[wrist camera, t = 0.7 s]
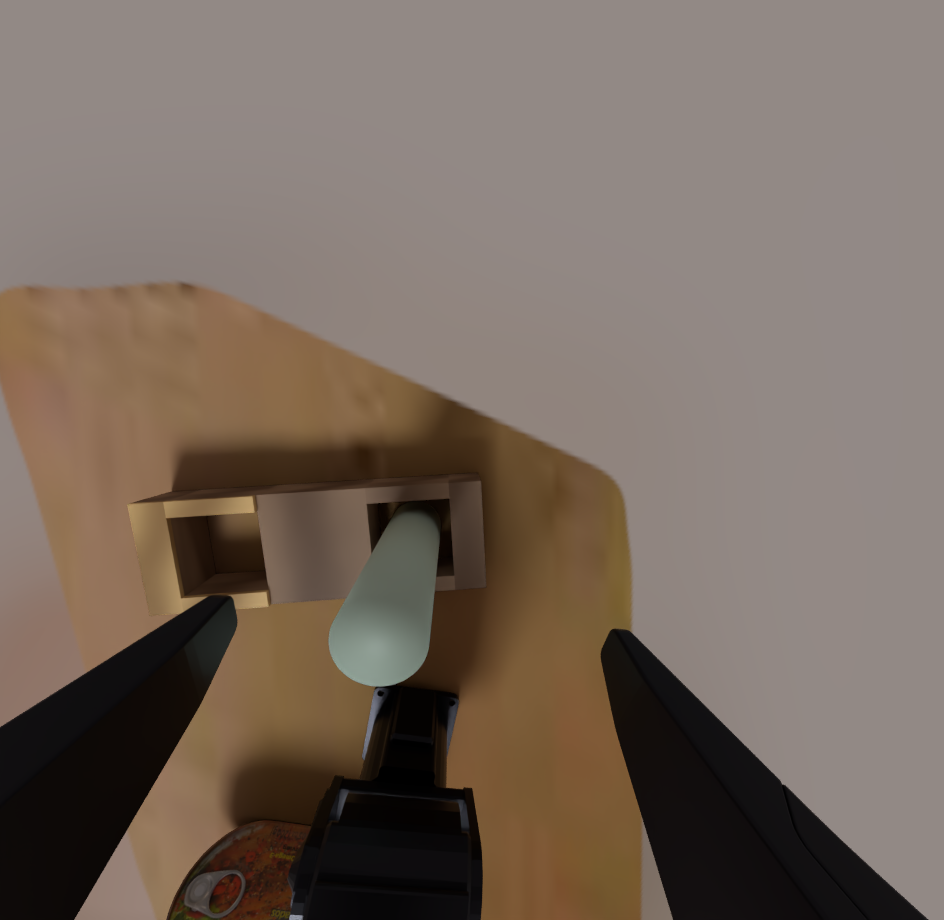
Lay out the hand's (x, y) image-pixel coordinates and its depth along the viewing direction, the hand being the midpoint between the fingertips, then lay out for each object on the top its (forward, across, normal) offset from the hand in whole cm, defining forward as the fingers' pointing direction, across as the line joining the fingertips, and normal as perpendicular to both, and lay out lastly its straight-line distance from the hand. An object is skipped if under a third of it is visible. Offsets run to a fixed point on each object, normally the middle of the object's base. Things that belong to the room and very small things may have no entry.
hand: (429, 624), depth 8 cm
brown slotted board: (+15, +7, +10) cm, 19 cm away
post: (+15, +1, +8) cm, 17 cm away
